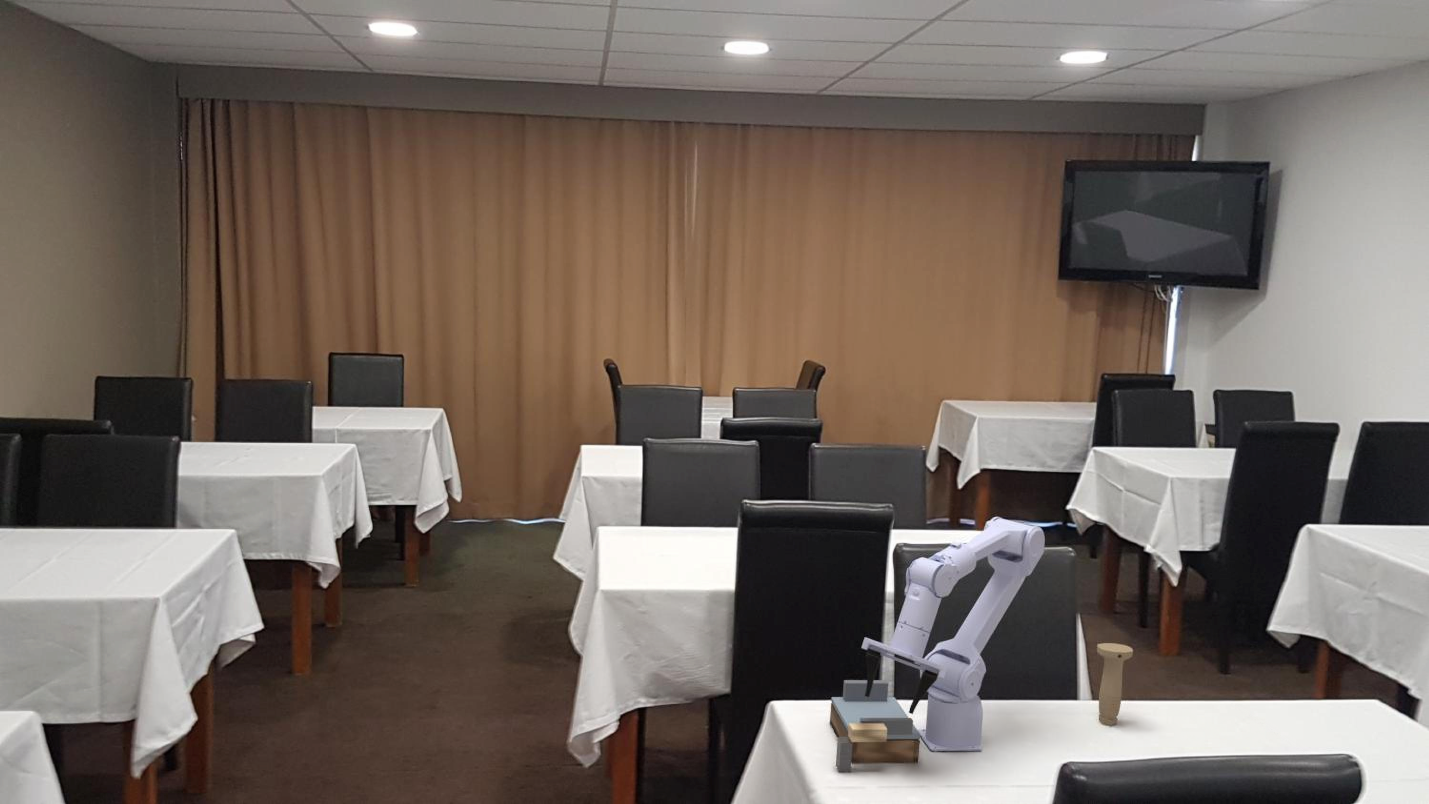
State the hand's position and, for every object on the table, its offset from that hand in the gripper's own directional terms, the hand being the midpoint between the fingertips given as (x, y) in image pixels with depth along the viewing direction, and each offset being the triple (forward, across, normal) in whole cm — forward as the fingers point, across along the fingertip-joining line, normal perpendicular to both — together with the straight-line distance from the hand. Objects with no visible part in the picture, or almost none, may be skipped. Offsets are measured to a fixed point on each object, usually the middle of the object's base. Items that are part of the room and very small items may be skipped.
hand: (888, 704), depth 183 cm
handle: (-9, +40, +34) cm, 53 cm away
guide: (+13, -4, +1) cm, 13 cm away
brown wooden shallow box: (+8, -1, +12) cm, 15 cm away
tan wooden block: (+7, -2, 0) cm, 7 cm away
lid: (+4, -2, +11) cm, 12 cm away
